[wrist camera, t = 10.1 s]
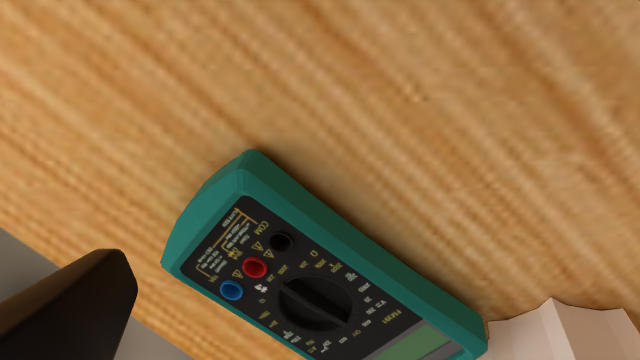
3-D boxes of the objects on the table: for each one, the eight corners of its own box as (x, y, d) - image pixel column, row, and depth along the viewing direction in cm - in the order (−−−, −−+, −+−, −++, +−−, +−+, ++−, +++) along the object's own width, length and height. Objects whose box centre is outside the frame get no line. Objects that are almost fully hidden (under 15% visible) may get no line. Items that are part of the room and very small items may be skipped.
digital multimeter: (244, 130, 19) (221, 165, 17) (488, 312, 23) (498, 363, 20) (168, 228, 23) (140, 268, 21) (387, 373, 26) (386, 422, 24)
